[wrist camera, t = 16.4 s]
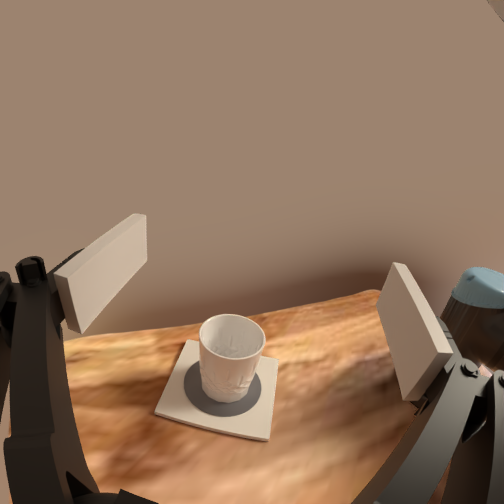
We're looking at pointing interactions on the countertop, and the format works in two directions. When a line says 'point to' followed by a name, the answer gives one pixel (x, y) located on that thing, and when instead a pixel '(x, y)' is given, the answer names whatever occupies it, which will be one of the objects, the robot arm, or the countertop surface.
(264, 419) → the trivet
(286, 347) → the countertop surface
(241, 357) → the white cup
